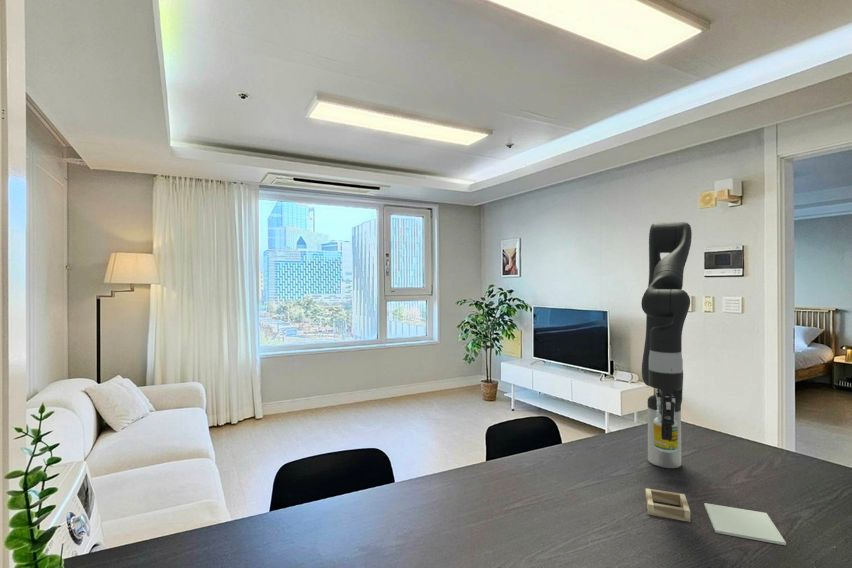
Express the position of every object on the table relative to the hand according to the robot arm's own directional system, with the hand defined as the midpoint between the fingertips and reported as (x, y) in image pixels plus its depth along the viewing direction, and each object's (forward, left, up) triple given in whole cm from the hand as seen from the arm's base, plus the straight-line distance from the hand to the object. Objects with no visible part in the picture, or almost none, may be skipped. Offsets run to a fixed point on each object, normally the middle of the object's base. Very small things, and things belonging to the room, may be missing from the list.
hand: (665, 435), depth 110 cm
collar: (0, 0, -19) cm, 19 cm away
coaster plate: (+1, +16, -19) cm, 24 cm away
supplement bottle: (0, 0, -4) cm, 4 cm away
